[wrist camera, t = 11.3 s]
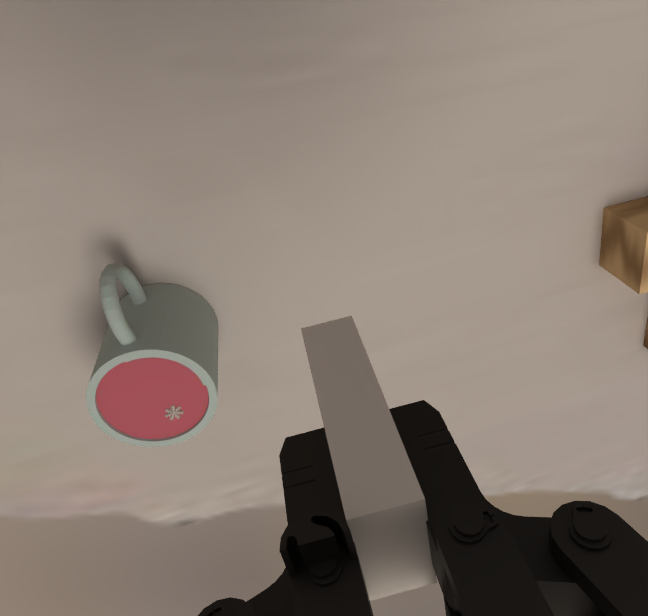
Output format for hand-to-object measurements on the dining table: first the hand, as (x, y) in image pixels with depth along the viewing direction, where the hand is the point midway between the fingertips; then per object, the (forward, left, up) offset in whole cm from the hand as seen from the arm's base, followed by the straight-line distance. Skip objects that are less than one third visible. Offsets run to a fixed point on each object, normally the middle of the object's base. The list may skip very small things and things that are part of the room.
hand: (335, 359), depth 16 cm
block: (+16, +31, -30) cm, 46 cm away
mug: (+12, -13, -30) cm, 34 cm away
